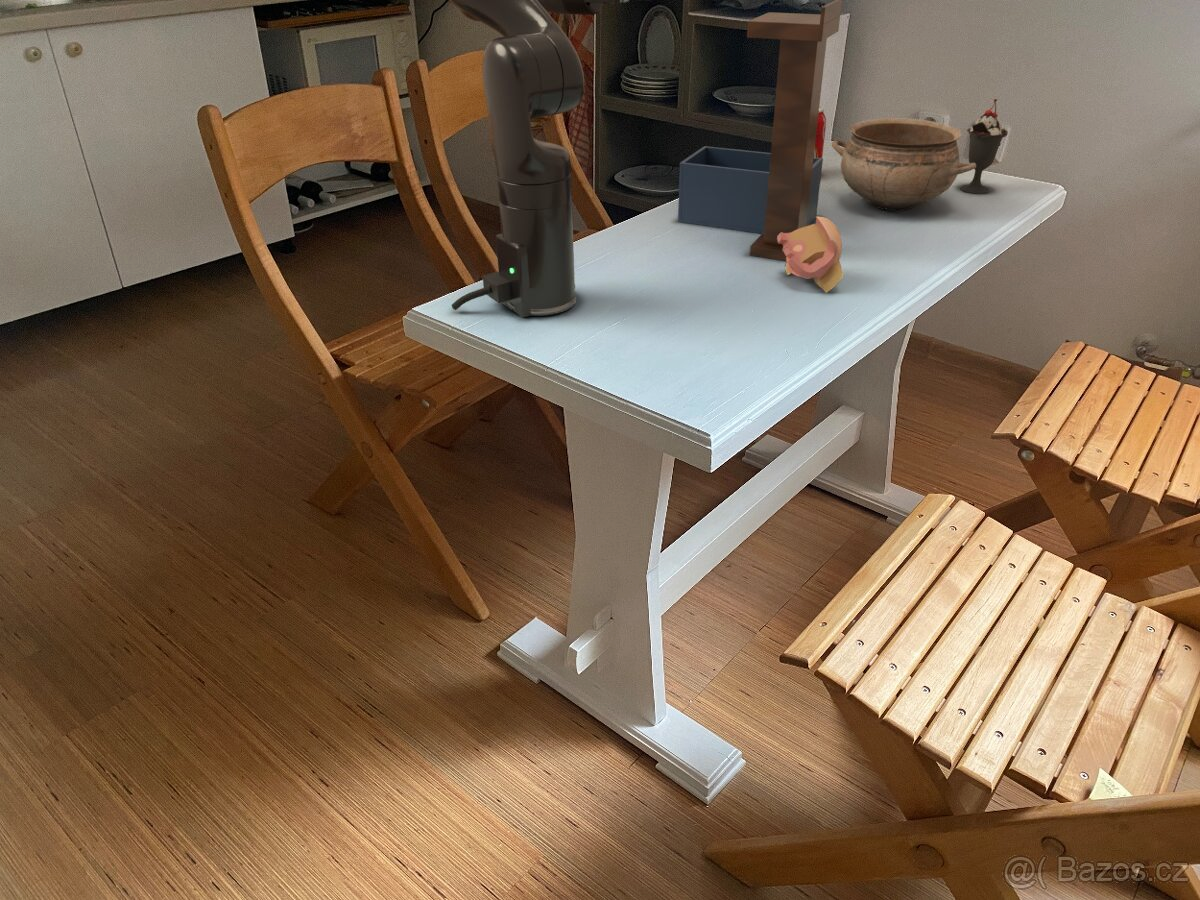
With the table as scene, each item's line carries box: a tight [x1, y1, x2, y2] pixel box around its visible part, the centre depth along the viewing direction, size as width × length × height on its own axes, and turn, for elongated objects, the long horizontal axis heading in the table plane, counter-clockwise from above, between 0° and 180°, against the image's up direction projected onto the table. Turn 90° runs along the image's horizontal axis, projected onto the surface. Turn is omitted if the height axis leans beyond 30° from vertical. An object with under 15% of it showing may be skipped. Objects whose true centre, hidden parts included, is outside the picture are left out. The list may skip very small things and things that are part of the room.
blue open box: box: [677, 145, 824, 235], centre depth 145 cm, size 20×11×10 cm, turn 64°
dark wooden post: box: [746, 0, 843, 262], centre depth 127 cm, size 10×9×34 cm
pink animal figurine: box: [777, 215, 844, 294], centre depth 124 cm, size 9×10×10 cm
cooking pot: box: [831, 117, 976, 211], centre depth 150 cm, size 25×19×12 cm
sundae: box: [959, 98, 1009, 195], centre depth 155 cm, size 7×7×15 cm
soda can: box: [814, 105, 827, 158], centre depth 165 cm, size 7×7×12 cm
